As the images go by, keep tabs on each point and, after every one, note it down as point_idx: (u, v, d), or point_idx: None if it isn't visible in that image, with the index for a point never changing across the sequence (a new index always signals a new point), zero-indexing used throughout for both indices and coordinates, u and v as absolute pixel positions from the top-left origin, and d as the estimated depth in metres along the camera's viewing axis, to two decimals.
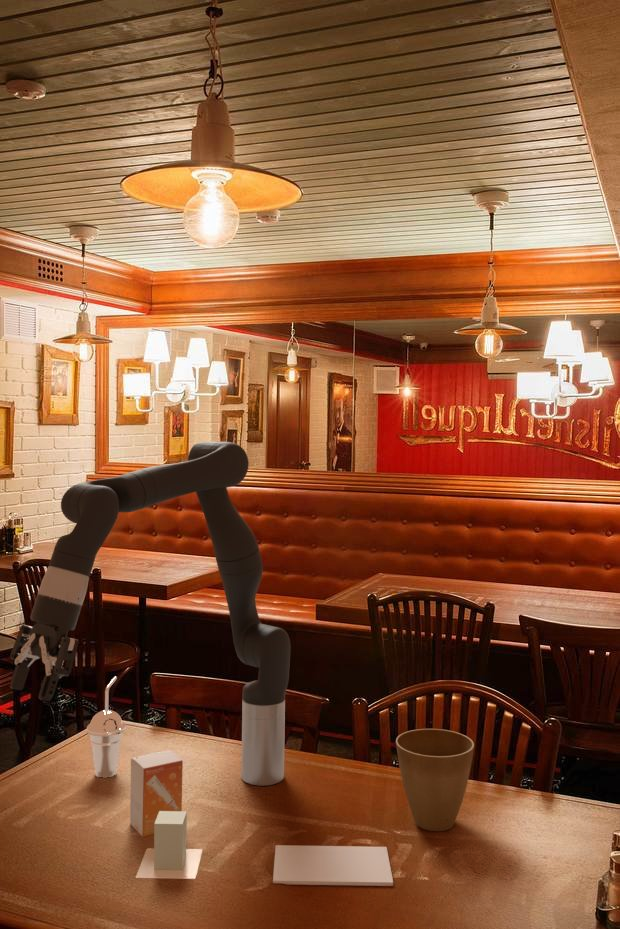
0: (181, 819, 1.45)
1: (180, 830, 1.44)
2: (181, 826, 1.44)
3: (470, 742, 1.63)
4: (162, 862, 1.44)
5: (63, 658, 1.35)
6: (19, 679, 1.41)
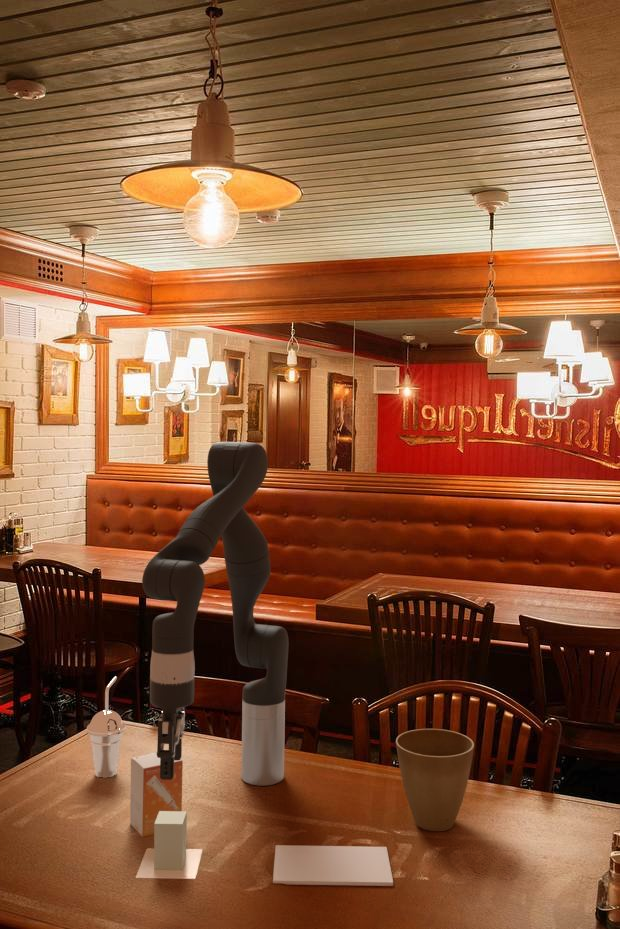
0: (181, 819, 1.45)
1: (180, 830, 1.44)
2: (181, 826, 1.44)
3: (470, 742, 1.63)
4: (162, 862, 1.44)
5: (159, 742, 1.38)
6: None
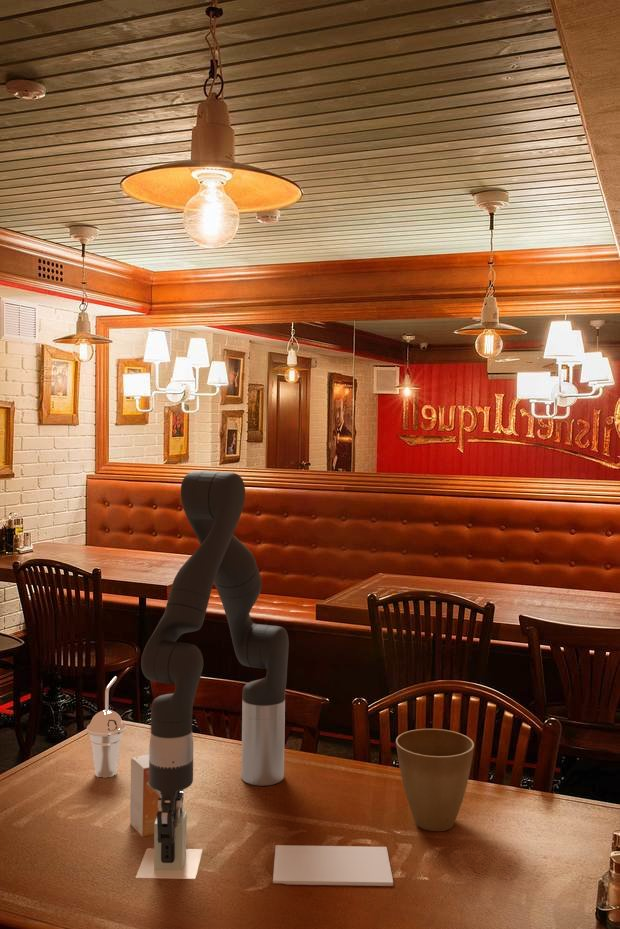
0: (181, 819, 1.45)
1: (180, 830, 1.44)
2: (181, 826, 1.44)
3: (470, 742, 1.63)
4: (162, 862, 1.44)
5: (159, 831, 1.40)
6: None
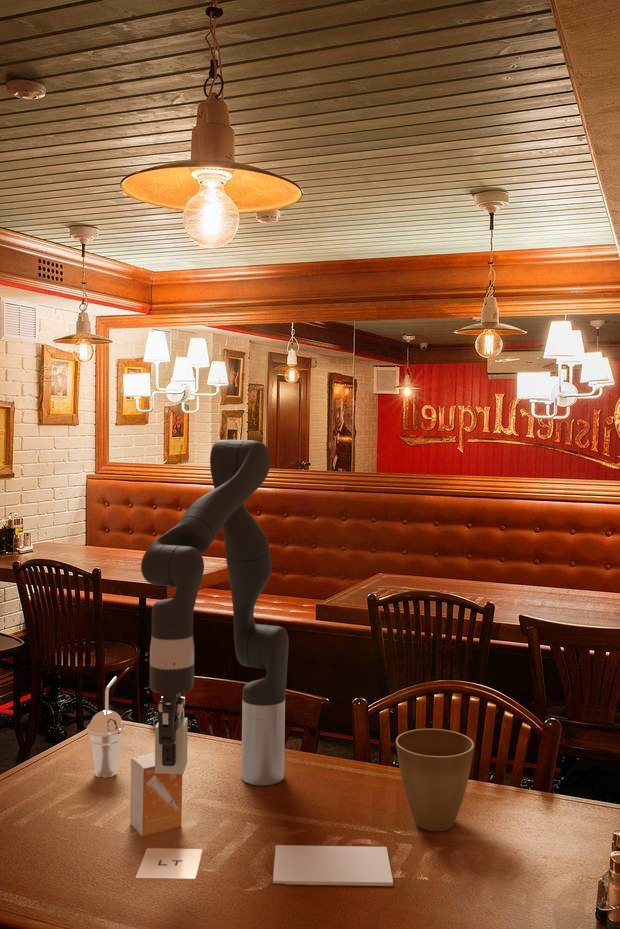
0: (182, 723, 1.45)
1: (181, 733, 1.43)
2: (182, 729, 1.43)
3: (470, 742, 1.63)
4: None
5: (160, 732, 1.39)
6: None
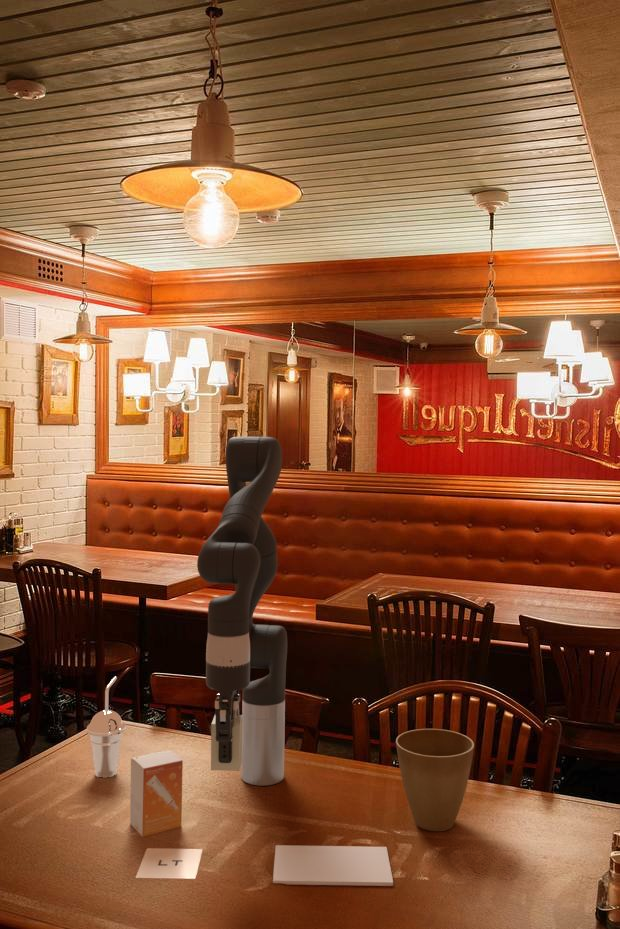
0: (238, 720, 1.45)
1: (237, 730, 1.43)
2: (238, 726, 1.43)
3: (470, 742, 1.63)
4: (219, 762, 1.43)
5: (218, 729, 1.39)
6: None
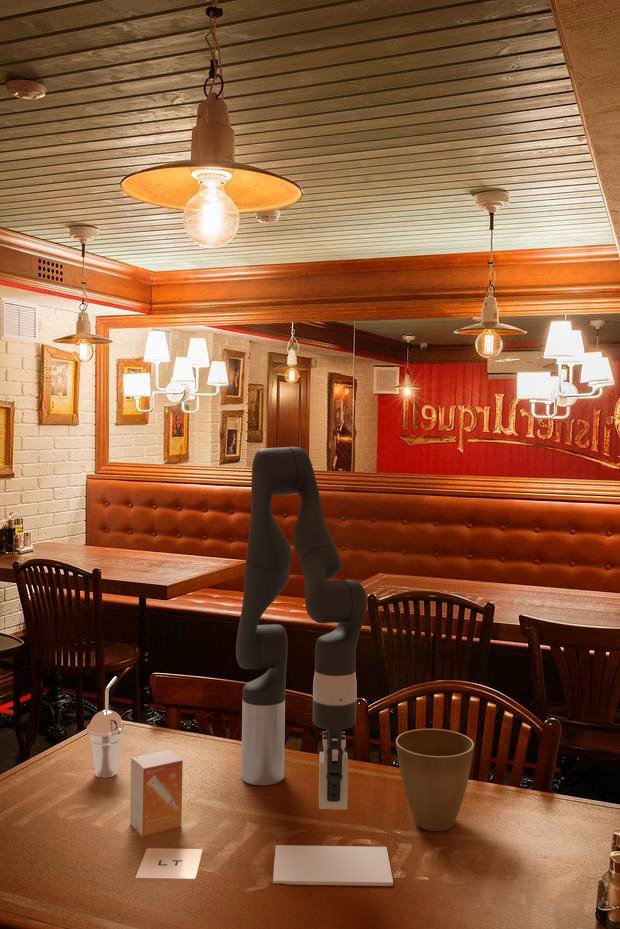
0: (345, 758, 1.45)
1: (345, 768, 1.43)
2: (347, 765, 1.43)
3: (470, 742, 1.63)
4: (327, 801, 1.43)
5: (329, 768, 1.40)
6: None
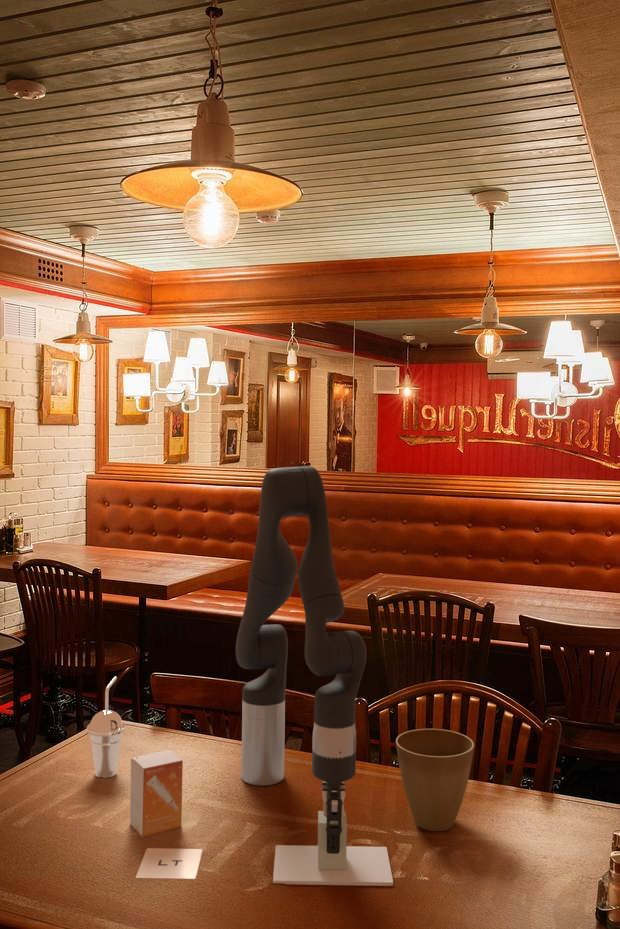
0: (343, 818, 1.46)
1: (344, 829, 1.44)
2: (345, 825, 1.44)
3: (470, 742, 1.63)
4: (326, 861, 1.44)
5: (329, 820, 1.39)
6: None
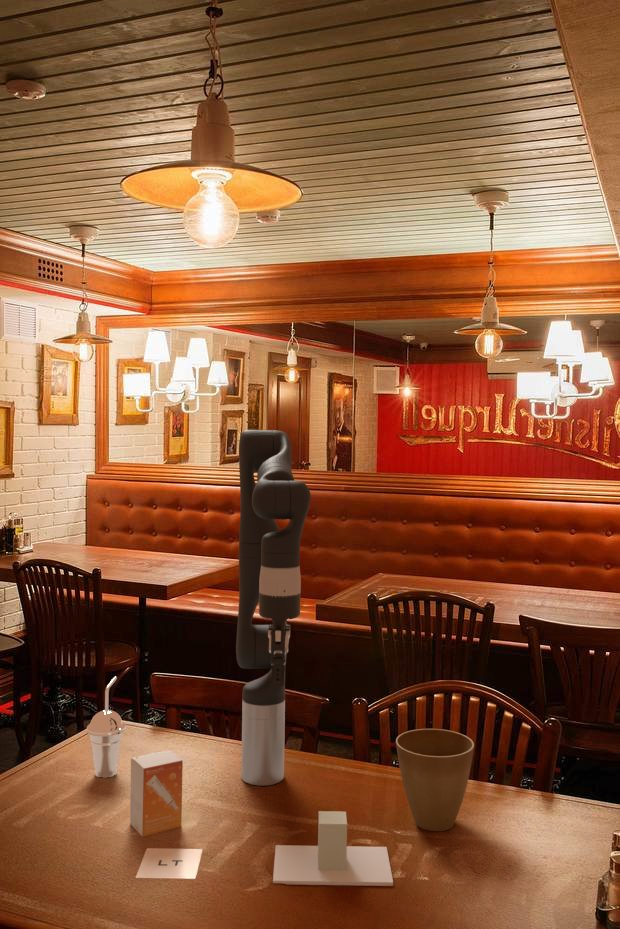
0: (344, 819, 1.45)
1: (344, 830, 1.44)
2: (345, 826, 1.44)
3: (470, 742, 1.63)
4: (326, 862, 1.44)
5: (273, 649, 1.47)
6: None
